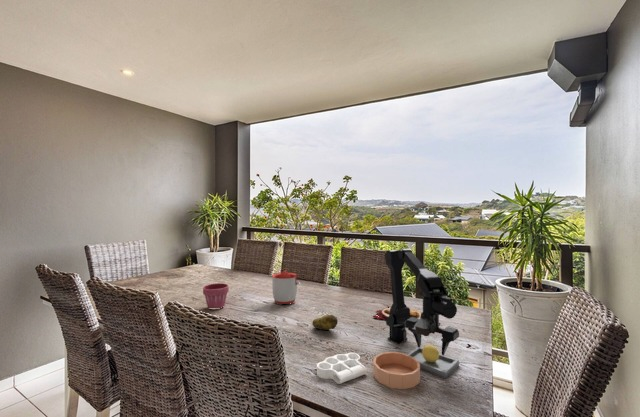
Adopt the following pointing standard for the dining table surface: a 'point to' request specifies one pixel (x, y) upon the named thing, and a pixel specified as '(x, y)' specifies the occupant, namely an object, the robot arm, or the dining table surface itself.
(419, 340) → the robot arm
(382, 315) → the plate with food
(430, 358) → the ball
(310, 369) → the dining table surface
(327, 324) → the potato
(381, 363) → the bowl
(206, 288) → the plant pot
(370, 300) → the dining table surface
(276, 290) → the citrus juicer
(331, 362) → the white brass knuckles
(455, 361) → the tray
